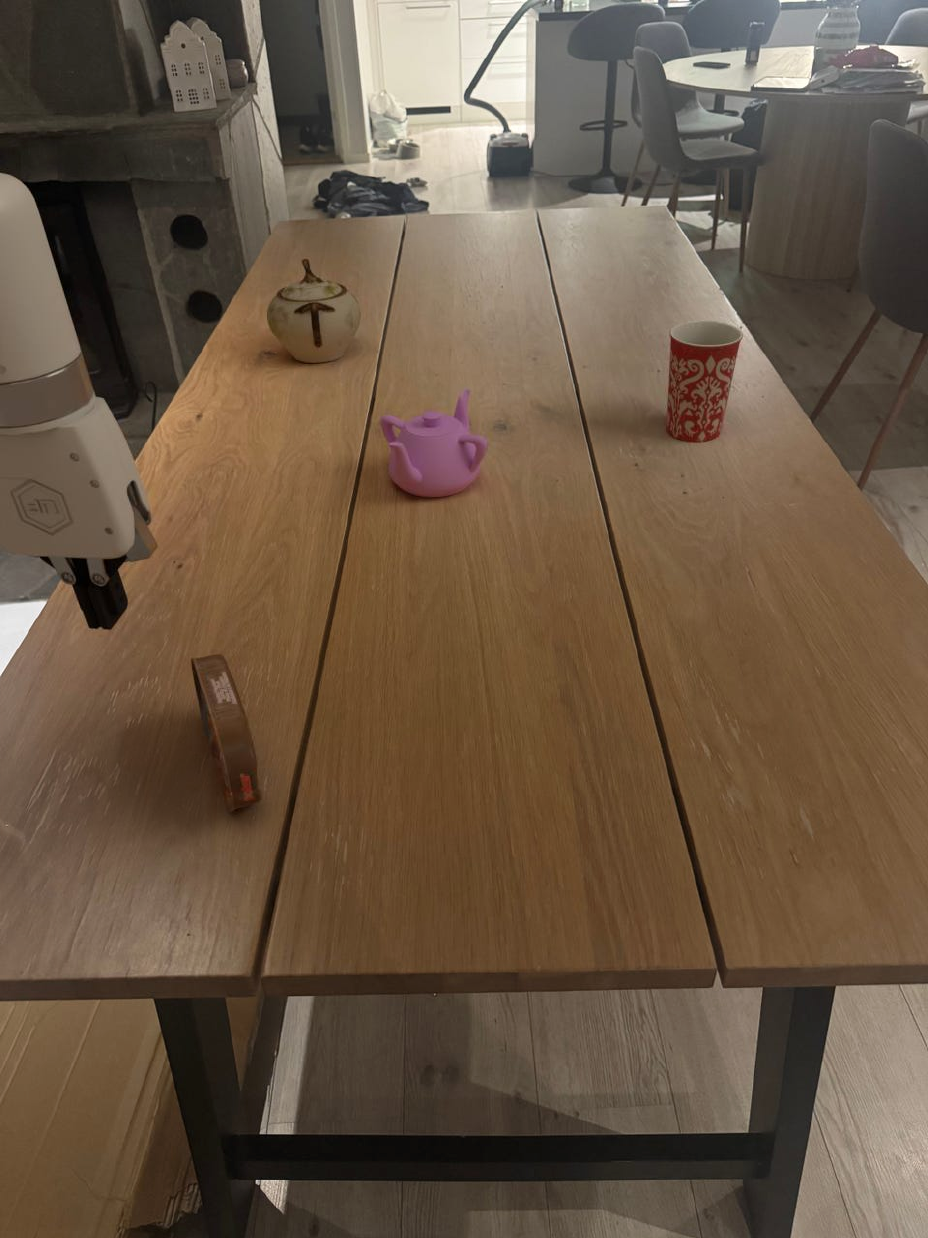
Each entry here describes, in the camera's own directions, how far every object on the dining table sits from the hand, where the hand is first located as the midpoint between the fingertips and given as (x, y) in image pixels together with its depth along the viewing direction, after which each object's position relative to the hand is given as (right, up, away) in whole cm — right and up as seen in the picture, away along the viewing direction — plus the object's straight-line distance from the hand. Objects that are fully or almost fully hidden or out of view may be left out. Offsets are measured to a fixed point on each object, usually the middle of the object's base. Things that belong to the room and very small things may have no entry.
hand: (109, 617), depth 70 cm
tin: (+8, -12, +7) cm, 16 cm away
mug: (+58, +26, +56) cm, 85 cm away
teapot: (+23, +17, +47) cm, 55 cm away
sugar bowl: (+3, +44, +83) cm, 94 cm away
